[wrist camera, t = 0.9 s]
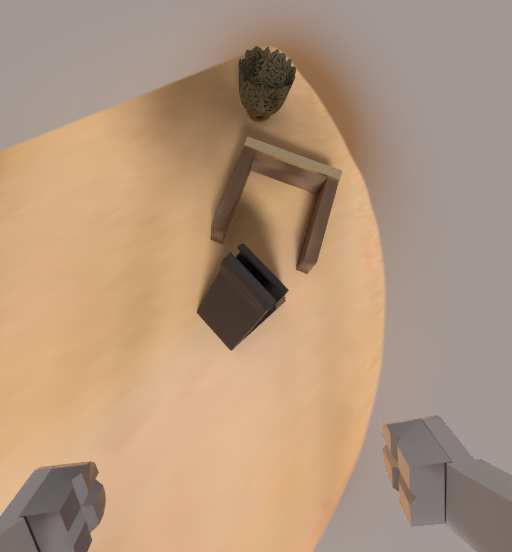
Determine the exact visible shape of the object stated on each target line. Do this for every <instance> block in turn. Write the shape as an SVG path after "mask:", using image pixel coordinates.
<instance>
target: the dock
mask: <svg viewBox="0 0 512 552" xmlns="http://www.w3.org/2000/svg"><path fill="white" fill-rule="evenodd" d="M250 171H254V172H257V173H259V174H262V175H265V176H268V177H271V178H273V179H276V180H279V181H282V182H284V183H287V184H290V185H293V186H296V187H298V188H301V189H304V190H307V191H309V192H312V193H315V194H318V197H317V200H316V204H315V207H314V211H313V214H312V217H311V221H310V224H309V228H308V231H307V234H306V238H305V241H304V245H303V248H302V252H301V255H300V258H299V262H298V265H297V269H296V270H298V271H301V272H304V273H308V272H309V271H310V270H311V268H312V267H313V266H314V265H315V264H316V262H317V260H318V256H319V252H320V249H321V245H322V241H323V238H324V234H325V230H326V226H327V223H328V219H329V215H330V212H331V208H332V204H333V201H334V197H335V193H336V189H337V186H338V182H339V180H340V177H341V173H342V170H339V169H336V168H333V167H331V166H328V165H325V164H322V163H320V162H317V161H314V160H311V159H309V158H306V157H303V156H300V155H298V154H295V153H292V152H289V151H287V150H284V149H281V148H278V147H276V146H273V145H270V144H267V143H265V142H262V141H259V140H256V139H253V138H251V137H247V139H246V142H245V144H244V148H243V150H242V153H241V155H240V158H239V160H238V162H237V165H236V167H235V170H234V172H233V174H232V177H231V179H230V182H229V184H228V186H227V189H226V191H225V194H224V196H223V199H222V201H221V203H220V206H219V208H218V211H217V213H216V215H215V218H214V220H213V223H212V227H211V240H213V241H216V242H219V243H222V242H223V240H224V237H225V234H226V232H227V229H228V227H229V224H230V222H231V219H232V217H233V214H234V212H235V209H236V206H237V204H238V201H239V199H240V196H241V194H242V191H243V189H244V186H245V183H246V181H247V178H248V176H249V173H250Z"/></svg>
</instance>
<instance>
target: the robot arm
mask: <svg viewBox="0 0 512 552" xmlns="http://www.w3.org/2000/svg"><path fill="white" fill-rule="evenodd" d="M382 436H383V438H384V440H385V443H386V446H385V447H384V448H383V456H384V462H385V468H386V472H387V474H388V477H389V480H390V482H391V484H392V487H393V488H395V489H396V490H397V491H399V497H400V498H399V499H400V504H401V506H402V508H403V511H404V513H405V515H406V517H407V519H408V521H409V524H410V526H424V525H434V524H446V526H447V527H449V528H450V529H451V530H452V531H453V532H454V533H456V534H457V535H458V536H459V537H460V538H462V539H463V540H464V541H465V542H466V543H467V544H469V545H470V546H471V547H472V548H473V549H475V550H476V551H477V552H512V475H510V474H508V473H506V472H504V471H502V470H500V469H498V468H497V467H495V466H493V465H491V464H489V463H487V462H485V461H483V460H481V459H477V460H474V458H473V457H472V456H471V455H470V454H469V452H468V451H467V450H466V449H465V447H464V446H463V445H462V443H461V442H460V441H459V440H458V438H457V437H456V436H455V435H454V434H453V432H452V431H451V430H450V429H449V427H448V426H447V425H446V423H445V422H444V421H443V420H442V418H440V417H439V416H430V417H424V418H419V419H413V420H405V421H398V422H391V423H384V424H383V425H382ZM98 473H99V472H98V469H97V467H96V464H95V463H94V462H81V463H72V464H62V465H57V466H46V467H40V468H38V469H36V470H34V472H33V473H32V474H31V476H30V477H29V478H28V480H27V481H26V482H25V484H24V485H23V487H22V488H21V489H20V491H19V492H18V493H17V495H16V496H15V497H14V499H13V500H12V501H11V503H10V504H9V505H8V507H7V508H6V509H5V511H4V512H3V513H2V515H1V516H0V552H87V551H88V549H89V547H90V545H91V542H92V538H91V534H90V533H91V532H92V531H93V530H94V529H95V528H96V527H97V526H98V525H99V524H100V521H101V519H102V517H103V514H104V509H105V503H106V498H105V491H104V487H103V485H102V484H101V483H99V482H98V481H97V480H96V477H97V475H98Z"/></svg>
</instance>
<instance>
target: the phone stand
mask: <svg viewBox="0 0 512 552" xmlns="http://www.w3.org/2000/svg"><path fill="white" fill-rule="evenodd" d="M237 248H238V249H239V250H240V252H239V254H238V255H237V257H235V256H234V255H233V254H232V253H231V252H230V253H229V254H228V255H227V256H226V257H225V258H224V260H223V261H222V263H221V270H220V272H219V274H218V276H217V278H216V279H215V281H214V283H213V285H212V286H211V288H210V290H209V292H208V293H207V295H206V297H205V299H204V300H203V302H202V304H201V306H200V307H199V309H198V311H197V313H198V314H199V316H200V317H201V318H202V319H203V320H204V321H205V322H206V323H207V325H208V326H209V327H210V328H211V329H212V330H213V331H214V332H215V333H216V335H217V336H218V337H219V338H220V339H221V340H222V341H223V342H224V344H225V345H226V346H227V347H228V348H229V349H230V350H233V349H234V348H235V347H236V346H237V345H238V344H239V343H240V342H241V341H242V340H244V339H245V338H246V337H247V336H248V335H249V334H250V333H251V332H252V331H253V330H254V329H256V328H257V327H258V326H259V325H260V324H261V323H262V322H263V321H264V320H265V319H266V318H268V317H269V316H270V315H271V314H272V313H273V312H274V311H275V310H276V309H277V308H278V307H280V306H281V305H282V304H283V303H284V302H285V301H286V300H285V298H284V295H285V294H286V293H287V292H288V291H289V290H288V289H287V288H286V287H285V286H284V285H283V284H282V283H281V282H280V281H279V280H278V279H277V278H276V277H275V276H274V274H273V273H272V272H271V271H270V270H269V269H268V268H267V267H266V266H265V265H264V264H263V263H262V262H261V261H260V260H259V259H258V258H257V257H256V256H255V255H254V254H253V253H252V252H251V250H250V249H249V248H248V247H247V246H246V245H245V244H241V245H239V246H238V247H237Z"/></svg>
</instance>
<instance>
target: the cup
mask: <svg viewBox="0 0 512 552" xmlns="http://www.w3.org/2000/svg"><path fill="white" fill-rule="evenodd" d="M291 62H292V61H291V59H288V60H287V62H286V56H285V54H284V53H281V54H280V53H279V50H276V51H274V52H272V54H270V50H269V47H267V48H266V49H265V51H263V50H262V49H261V48H259V47H257V46H256V47H254V48H253V49H252V50H251V51H250V50H247V51H246V53H245V59H242V62H241V59H240V60H239V93H240V98H241V101H242V104H243V105H244V107H245V108H246V109H247V113H248V115H249V117H250V118H251V119H253V120H255V121H258V122H262V121H265V120H267V119H268V118H269V117H270V115H272V114H274V113H276V112H277V111H278V110H279V109H280V108H281V106H282V105H283V103H284V101H285V99H286V97H287V95H288V93H289V90H290V88H291V86H292V83H293V81H294V79H295V73H296V67H292V66H291Z"/></svg>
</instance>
